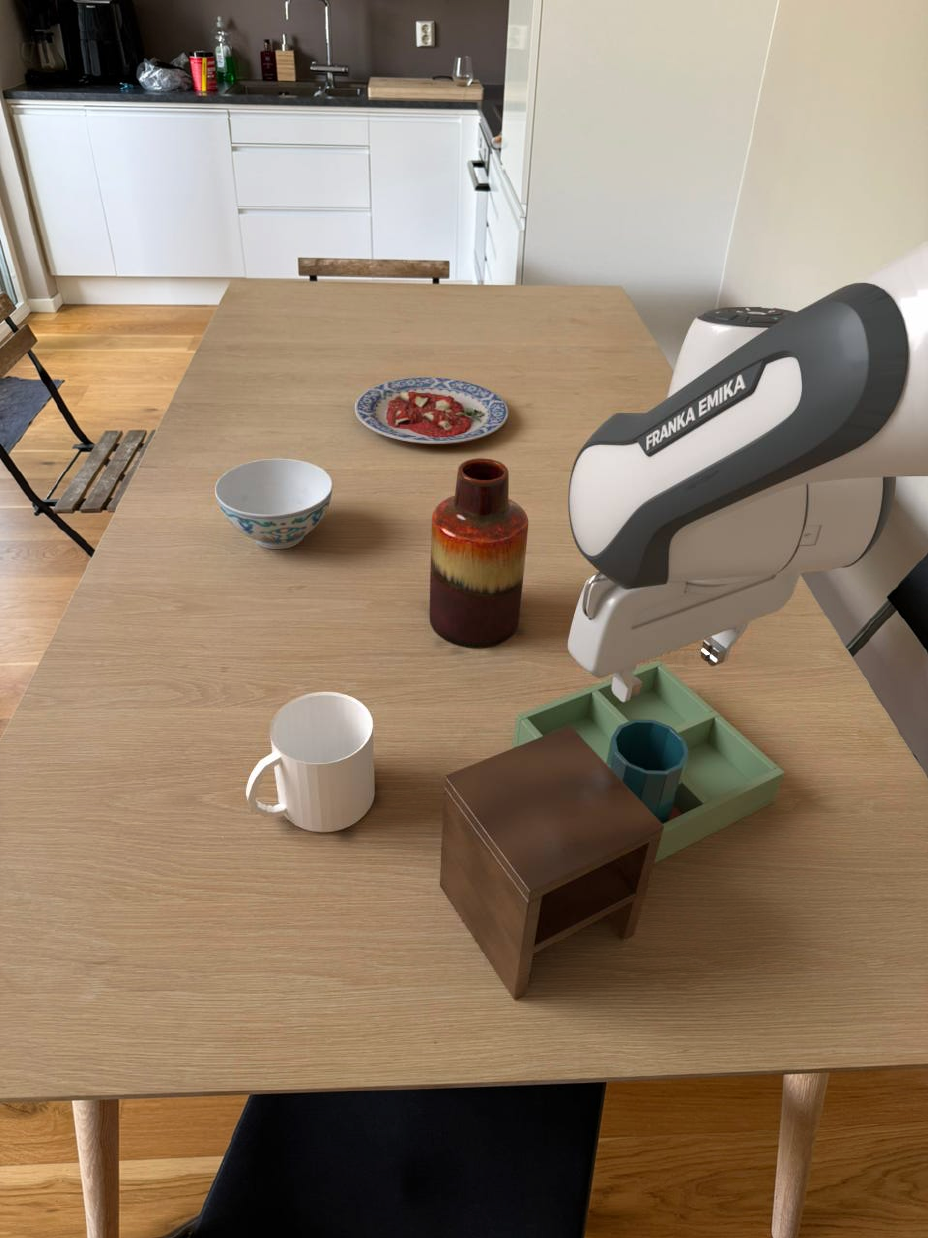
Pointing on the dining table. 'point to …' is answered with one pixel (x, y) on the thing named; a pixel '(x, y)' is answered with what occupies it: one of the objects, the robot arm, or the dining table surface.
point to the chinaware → (275, 500)
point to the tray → (718, 753)
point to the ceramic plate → (431, 410)
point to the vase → (477, 558)
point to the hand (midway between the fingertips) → (670, 677)
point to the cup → (650, 763)
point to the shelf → (543, 849)
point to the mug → (319, 762)
